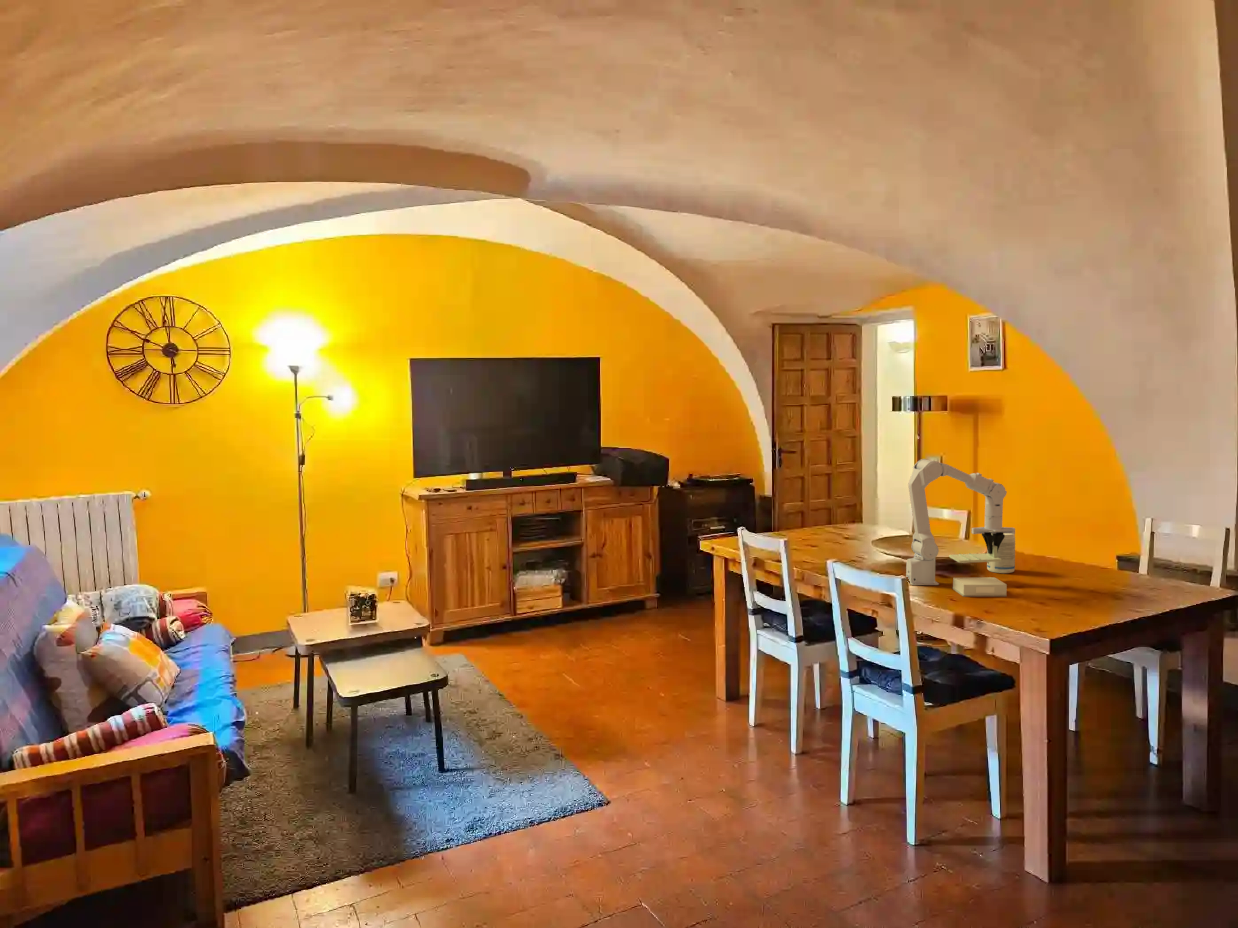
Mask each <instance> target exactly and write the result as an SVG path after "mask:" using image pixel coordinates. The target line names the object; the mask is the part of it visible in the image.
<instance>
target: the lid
mask: <svg viewBox="0 0 1238 928" xmlns="http://www.w3.org/2000/svg"><path fill="white" fill-rule="evenodd" d="M948 557H949V558H950V559H951V560H953V561H955V562H957V563H958V564H962V563H963V564H966V563H967V564H969V563H987V562H997V561H1001V559H1000V558H998V557H997V546H995V545H992V554H989V553H987V552H986V553H970V552H969V553H966V554H965V553H963V554H962V553H959V554H949V555H948Z"/></svg>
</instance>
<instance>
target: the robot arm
mask: <svg viewBox="0 0 1238 928" xmlns="http://www.w3.org/2000/svg"><path fill="white" fill-rule="evenodd" d="M946 476H948V477H951V478H952V479H955V480H957V481H960V482H963V483H964V484H965V487H966V488H967V489H969V490H971V491H974V492H976V493H978V494H981V495H983V496H984V497H985V499H984V506H985V507H984V526H979V527H971V534H972V535H977V534H978V535H980V534H981V537H982V538H983V541H984V542H985V546H986V549H987V550H988V553H989V554H992V545H995V546H997V553H998V549H999V546H1000V544H1001V542H1002V540H1003V539H1004V537H1005V535H1004V534H1003V533H1011V534H1015V535H1016V528H1015V527H1007V526H1004V527H1003V509H1004V508H1003V507H1004V498H1005V497H1006V496H1007V490H1006V488H1005V486H1004V485H1003V484H1001V483H999V482H995V481H994V479H992V478H987V477H984V476H983V474H982V473H980V472H974V473H973V472H972V473H970V474H968V473H967V472H964V471H962V470H960V469H958V468H956V467H954V466H952V465H949V464H947V463H942V462H939V461H935V460H929V459H928V458H922V459H918V461H917V462H916V463H915V464H914V465H912V472H911V474H910V478H909V480H908V484H907V486H908V492H909V500H910V507H911V514H912V521H913V528H914V533H913V534H912V542H911V545H910V546H911V550H912V552H913V553H914V554H913V557H912V558H907V559H906V562H905V563H906V567H905V569H906V571H905V572H906V573H905V575H906V576H905V578H906V577H908V579H909V581H910V583H909V584H910V585H912V586H939V585H940V583H939V582H937V581H936V558H937V556H938V555H939V546H938V545H937V544H936V542H935V537H934V535H933V534H932V531H931V526H930V518H929V516H930V515H929V509H928V503H927V497H926V496H927V495H926V488H927V487H928V485H930V483H932V482H933V481H935V480H937V479H938V478H940V477H946ZM987 550H986V551H987Z"/></svg>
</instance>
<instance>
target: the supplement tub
mask: <svg viewBox="0 0 1238 928" xmlns="http://www.w3.org/2000/svg"><path fill="white" fill-rule="evenodd" d="M1003 534H1004V535H1005V537H1004V539H1003V540H1002V542H1001V544H1000V546H999V549H998V553H997V557H998V558H1000V559H1001V561H997V562H986V569H987V570H988V571H989V572H991V573H996V574H997V573H998V574H1010V573H1011V574H1012V573H1014V572H1015V570H1016V533H1015V534H1011V533H1003ZM986 553H988V550H986Z"/></svg>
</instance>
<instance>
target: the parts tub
mask: <svg viewBox="0 0 1238 928" xmlns="http://www.w3.org/2000/svg"><path fill="white" fill-rule="evenodd" d="M1007 586H1008V585H1007V583H1005V582H1003V581H1001V580H999V579H998V578H996V577H994V576H993V577H990V576H989V577H988V576H987V577H953V579H952V590H953V591H955V592H956V593H958V594H959V595H960V596H962V597H1008V596H1007V588H1008V587H1007Z"/></svg>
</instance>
